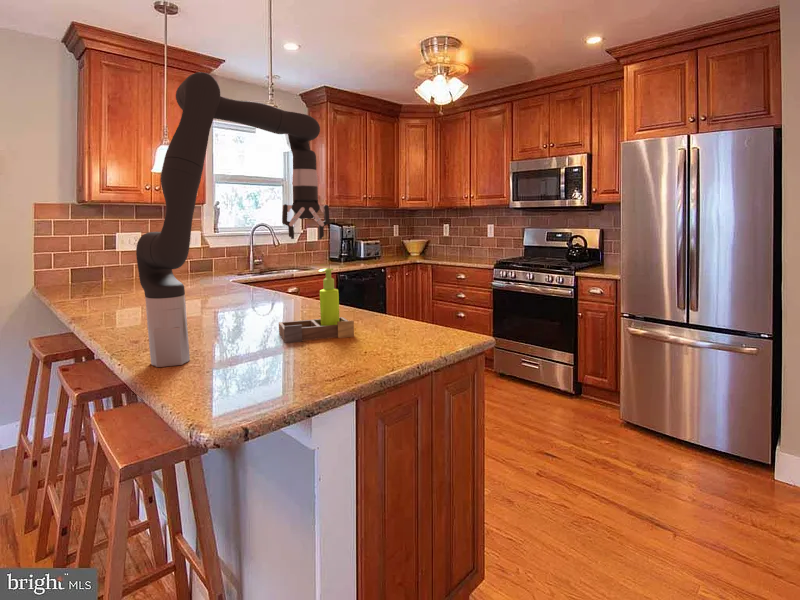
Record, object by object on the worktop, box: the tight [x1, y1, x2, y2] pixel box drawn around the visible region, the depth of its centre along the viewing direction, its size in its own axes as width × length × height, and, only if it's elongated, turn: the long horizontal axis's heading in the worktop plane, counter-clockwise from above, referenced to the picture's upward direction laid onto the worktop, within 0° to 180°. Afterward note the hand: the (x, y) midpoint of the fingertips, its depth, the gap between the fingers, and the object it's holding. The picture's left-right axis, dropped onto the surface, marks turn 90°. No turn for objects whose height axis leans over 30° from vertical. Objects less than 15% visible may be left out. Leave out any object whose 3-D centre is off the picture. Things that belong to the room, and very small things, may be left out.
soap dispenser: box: [318, 267, 340, 326], centre depth 162 cm, size 6×7×20 cm
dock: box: [278, 316, 355, 344], centre depth 162 cm, size 13×21×5 cm, turn 111°
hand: (306, 238), depth 160 cm, fingers open, 8 cm apart
